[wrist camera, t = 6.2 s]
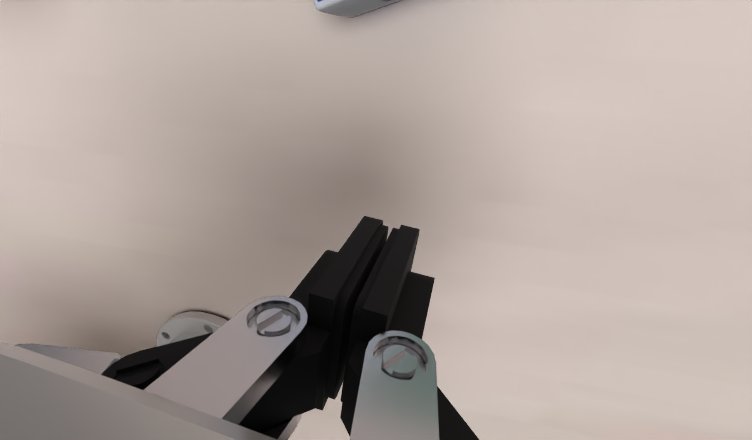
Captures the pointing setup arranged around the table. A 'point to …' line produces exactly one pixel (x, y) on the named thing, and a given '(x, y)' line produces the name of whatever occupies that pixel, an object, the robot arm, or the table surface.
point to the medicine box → (350, 6)
